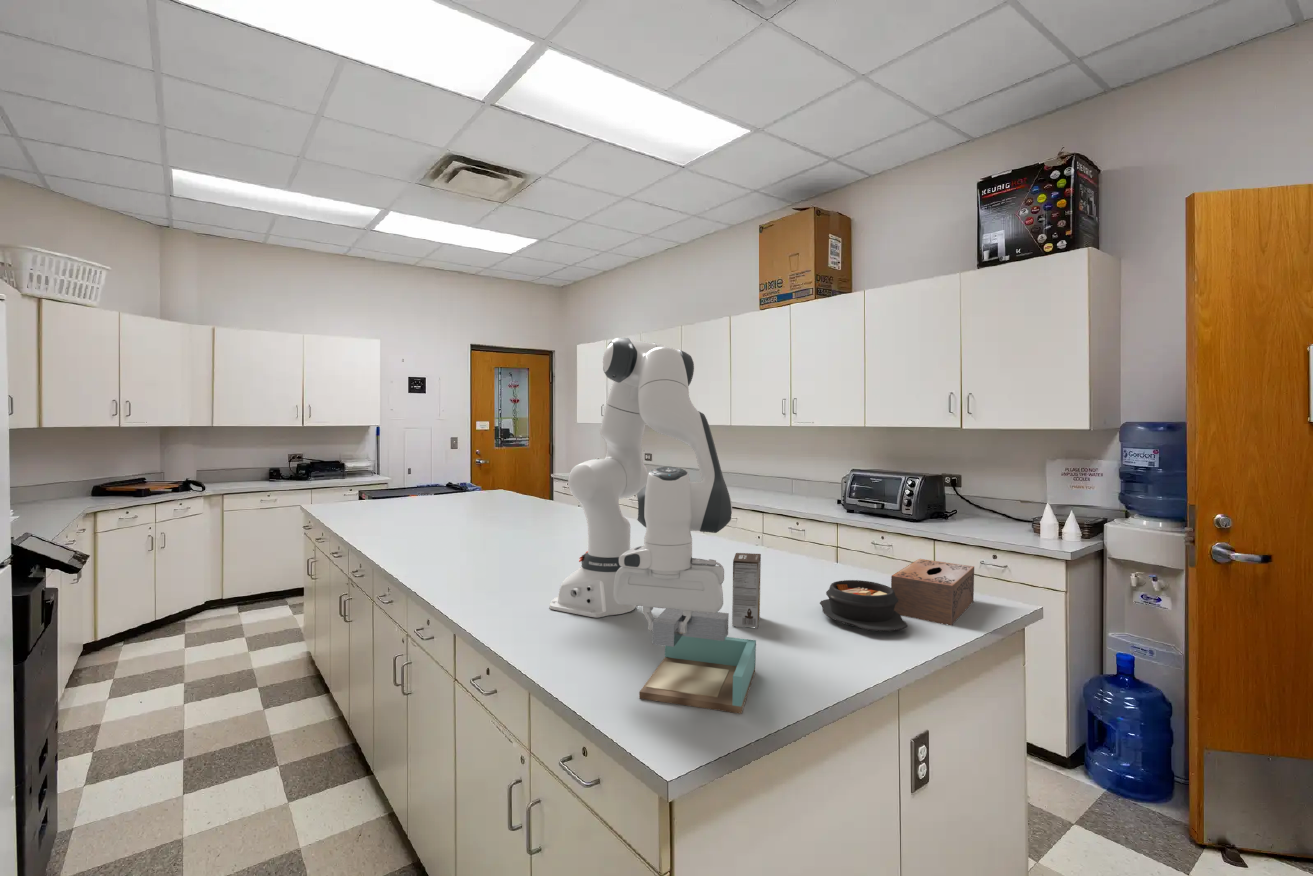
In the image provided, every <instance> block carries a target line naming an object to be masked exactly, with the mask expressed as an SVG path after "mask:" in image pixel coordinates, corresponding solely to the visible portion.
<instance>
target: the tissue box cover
mask: <svg viewBox="0 0 1313 876" xmlns="http://www.w3.org/2000/svg"><path fill="white" fill-rule="evenodd" d="M890 578H891V579H890V580H891V582H890V588H892V589H893V590H894V592H895V596H896V597H897V598H898V602H897V603H896V604H895V608H894V611H896V612H897V613H899V614H900V615H901V617H905V618H906V617H908V618H912V619H918V620H921V621H927V622H931V623H937V624H941V623H943V624H942V625H946V624H948V626H953V625H954V624H955V622H956V621H957V620H958V619H960V617H961V616H962V615H963V613H964V612H965V611H966V610H967V609H968V608H969V607H970V606H971V605H970V604H971V603H972V604H973V603H974V599H975V598H974V591H975V566H974V565H973V566H972V565H966V564H960V563H954V562H953V563H951V562H946V561H938V560H932V559H924V558H918V559H917V560H915V561H913V562H912V563H909V564H908V565H906V566H905V567H903V568H902V569H900V570H899V571H897V572H896V573H894V574H892V575H891V577H890ZM969 605H970V606H969ZM968 606H969V607H968ZM965 609H966V610H965ZM960 615H961V616H960ZM959 616H960V617H959ZM957 618H958V619H957ZM956 619H957V620H956Z"/></svg>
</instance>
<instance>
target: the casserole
mask: <svg viewBox="0 0 1313 876" xmlns="http://www.w3.org/2000/svg"><path fill="white" fill-rule="evenodd" d="M825 594H826V596H827V597H828V598H827V599H823V600H821V601H820V602H819V604H820V606H821V607H822V613H823V614H824V615H826V616H827V617H828V618H829V619H832V620H834V621H837V622H840V623H842V624H845V625H847V626H851V627H856V628H859V629H862V630H866V631H874V632H894V631H900V630H904V629H906V628H908V623H907V622H906V621H904V619H903V618H902V616H901V615H900V614H899V613H897V612H896V611H894V608H895V604H896V603H897V602H898V598H897V597H896V596H895V592H894V590H893V589H892V588H891V586H889V585H888V586H887V585H886V584H883V583H879V582H875V581H868V580H858V579H856V580H855V579H846V580H845V579H844V580H838V581H834V582H832V583H831V584H830V585H829V588H828V590H827V591H825Z"/></svg>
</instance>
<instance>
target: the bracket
mask: <svg viewBox="0 0 1313 876" xmlns="http://www.w3.org/2000/svg"><path fill="white" fill-rule="evenodd" d="M729 614H730V613H729V612H728V613H727V612H719V611H718V612H717V613H709V612H698V611H693V614H692V616H691V618H690V619H689V621H688V623H687V633H686V634H679V633H677V630H678V628H677V624H678V623H679V622H683V621H684V620H685V618H686V616H684V615H683V610H676V609H666V608H664V610H663V611H662V612H661V613H660V614H659V615H658V616H657V617H656V618H655V620H654V621H653V631H652V639H651V641H652V642H651V643H652V645H656V646H664V647H665V646H671V647H674V646H675V645H676V643H677V642H678V641H679V639H680V638H681V637H682V636H687V637H695V638H703V639H711V640H719V641H725V639H726V637H728V635H729Z"/></svg>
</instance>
